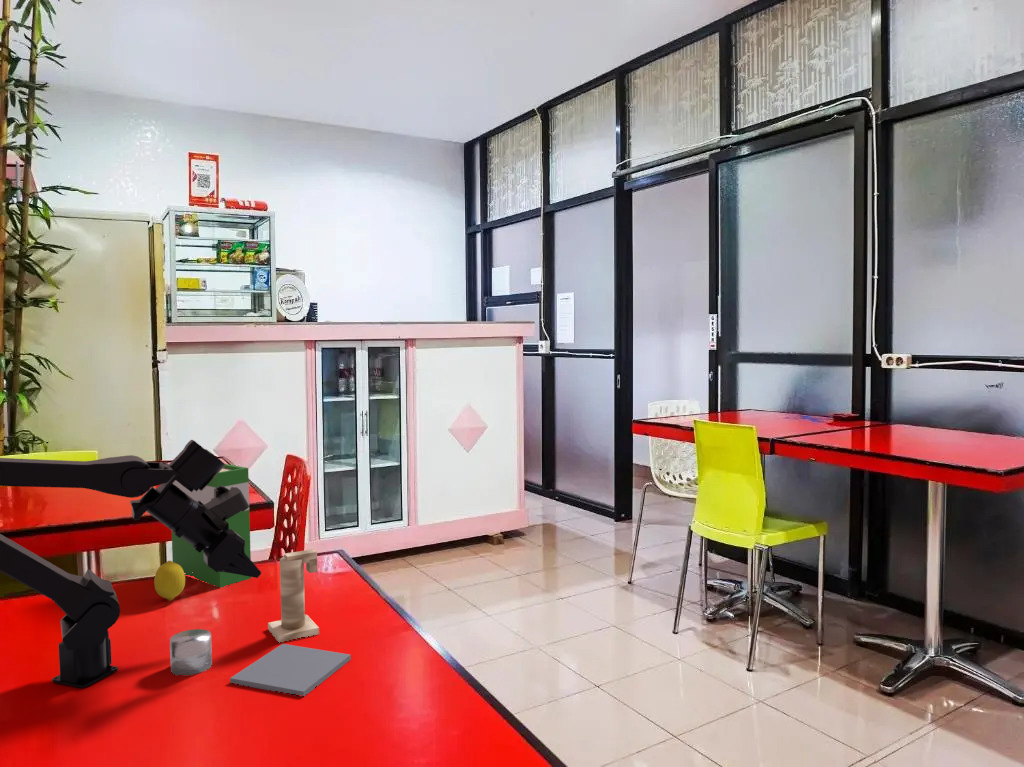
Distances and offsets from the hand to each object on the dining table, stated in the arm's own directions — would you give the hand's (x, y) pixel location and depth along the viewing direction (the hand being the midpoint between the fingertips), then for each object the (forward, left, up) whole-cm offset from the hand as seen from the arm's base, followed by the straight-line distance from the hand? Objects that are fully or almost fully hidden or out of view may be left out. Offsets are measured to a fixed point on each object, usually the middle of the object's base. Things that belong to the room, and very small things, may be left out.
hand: (252, 567), depth 128 cm
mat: (-8, -13, -13) cm, 20 cm away
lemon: (+10, +28, -13) cm, 32 cm away
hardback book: (+25, +31, -13) cm, 42 cm away
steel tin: (-12, +3, -13) cm, 18 cm away
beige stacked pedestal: (+5, -4, -13) cm, 14 cm away
